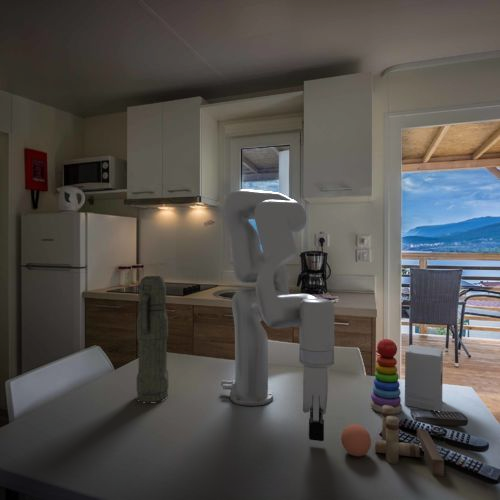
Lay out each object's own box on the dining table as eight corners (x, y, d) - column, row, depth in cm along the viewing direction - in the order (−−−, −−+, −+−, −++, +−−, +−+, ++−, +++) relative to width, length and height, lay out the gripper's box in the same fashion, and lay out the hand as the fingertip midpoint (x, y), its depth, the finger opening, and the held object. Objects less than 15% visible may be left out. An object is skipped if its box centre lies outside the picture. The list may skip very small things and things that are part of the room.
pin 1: (382, 448, 78) (383, 409, 78) (381, 442, 81) (381, 404, 81) (394, 450, 78) (395, 410, 78) (392, 443, 80) (393, 405, 80)
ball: (374, 448, 72) (364, 467, 74) (375, 425, 77) (366, 444, 79) (344, 435, 73) (335, 454, 75) (347, 413, 78) (339, 432, 81)
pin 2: (386, 462, 73) (386, 420, 73) (384, 456, 75) (384, 415, 75) (399, 464, 73) (400, 422, 73) (397, 457, 75) (397, 416, 75)
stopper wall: (432, 474, 69) (432, 459, 69) (416, 441, 81) (416, 428, 81) (443, 476, 69) (443, 460, 69) (426, 442, 81) (426, 429, 81)
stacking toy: (405, 417, 93) (405, 344, 93) (372, 414, 94) (372, 342, 94) (398, 404, 101) (399, 336, 100) (368, 401, 102) (369, 335, 102)
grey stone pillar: (130, 406, 99) (129, 278, 99) (143, 389, 111) (143, 275, 110) (162, 406, 99) (162, 278, 98) (172, 389, 110) (172, 275, 110)
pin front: (375, 442, 76) (419, 447, 74) (374, 437, 78) (417, 441, 76) (376, 454, 76) (419, 460, 74) (374, 449, 78) (417, 454, 76)
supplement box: (440, 413, 95) (441, 356, 95) (404, 405, 100) (404, 351, 100) (443, 401, 103) (443, 348, 102) (409, 394, 107) (409, 343, 107)
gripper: (301, 345, 87) (301, 421, 88) (296, 365, 73) (296, 455, 73) (333, 347, 86) (333, 424, 86) (335, 367, 71) (334, 460, 71)
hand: (316, 438), depth 80 cm, fingers closed
